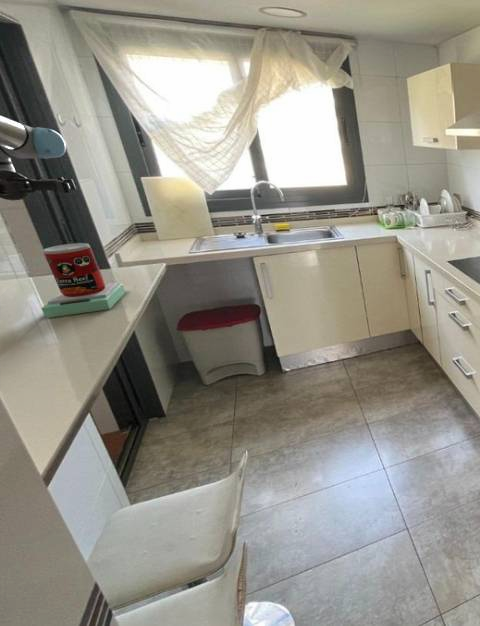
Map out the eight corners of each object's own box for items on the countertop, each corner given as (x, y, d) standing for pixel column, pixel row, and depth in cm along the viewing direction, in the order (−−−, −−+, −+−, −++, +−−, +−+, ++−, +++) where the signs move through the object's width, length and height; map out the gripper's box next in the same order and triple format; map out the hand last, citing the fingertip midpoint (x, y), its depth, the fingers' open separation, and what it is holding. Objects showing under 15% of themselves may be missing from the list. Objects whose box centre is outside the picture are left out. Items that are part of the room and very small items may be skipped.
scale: (45, 318, 103) (40, 305, 102) (68, 299, 114) (63, 288, 113) (109, 309, 108) (105, 297, 107) (125, 292, 119) (121, 281, 118)
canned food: (55, 299, 105) (34, 252, 101) (72, 288, 112) (53, 244, 108) (98, 294, 108) (79, 249, 104) (112, 284, 115) (95, 241, 111)
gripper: (77, 194, 131) (100, 199, 119) (-62, 205, 111) (-50, 213, 100) (66, 166, 128) (89, 169, 117) (-78, 173, 109) (-68, 178, 98)
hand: (25, 190), depth 108 cm, fingers open, 13 cm apart
